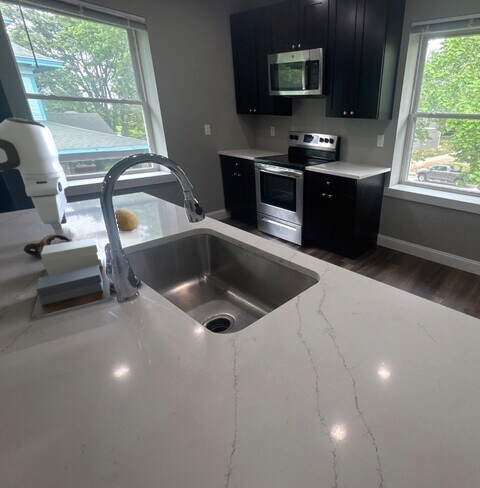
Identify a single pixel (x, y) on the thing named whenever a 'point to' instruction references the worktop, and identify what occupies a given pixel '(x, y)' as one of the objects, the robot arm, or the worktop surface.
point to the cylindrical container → (50, 231)
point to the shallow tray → (74, 301)
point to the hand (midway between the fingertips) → (62, 228)
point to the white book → (69, 249)
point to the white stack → (73, 263)
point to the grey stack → (69, 284)
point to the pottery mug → (42, 244)
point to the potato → (126, 220)
